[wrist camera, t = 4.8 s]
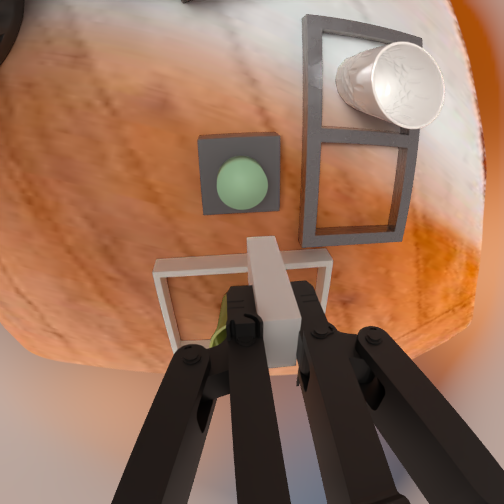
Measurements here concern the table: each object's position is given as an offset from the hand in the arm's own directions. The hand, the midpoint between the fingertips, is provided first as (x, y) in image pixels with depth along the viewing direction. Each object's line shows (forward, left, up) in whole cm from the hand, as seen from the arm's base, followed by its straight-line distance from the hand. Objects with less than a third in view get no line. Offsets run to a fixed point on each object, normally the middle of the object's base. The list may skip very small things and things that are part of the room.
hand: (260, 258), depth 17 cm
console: (0, 0, -18) cm, 18 cm away
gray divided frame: (+14, +4, -18) cm, 23 cm away
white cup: (+14, +11, -19) cm, 25 cm away
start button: (0, 0, -17) cm, 17 cm away
